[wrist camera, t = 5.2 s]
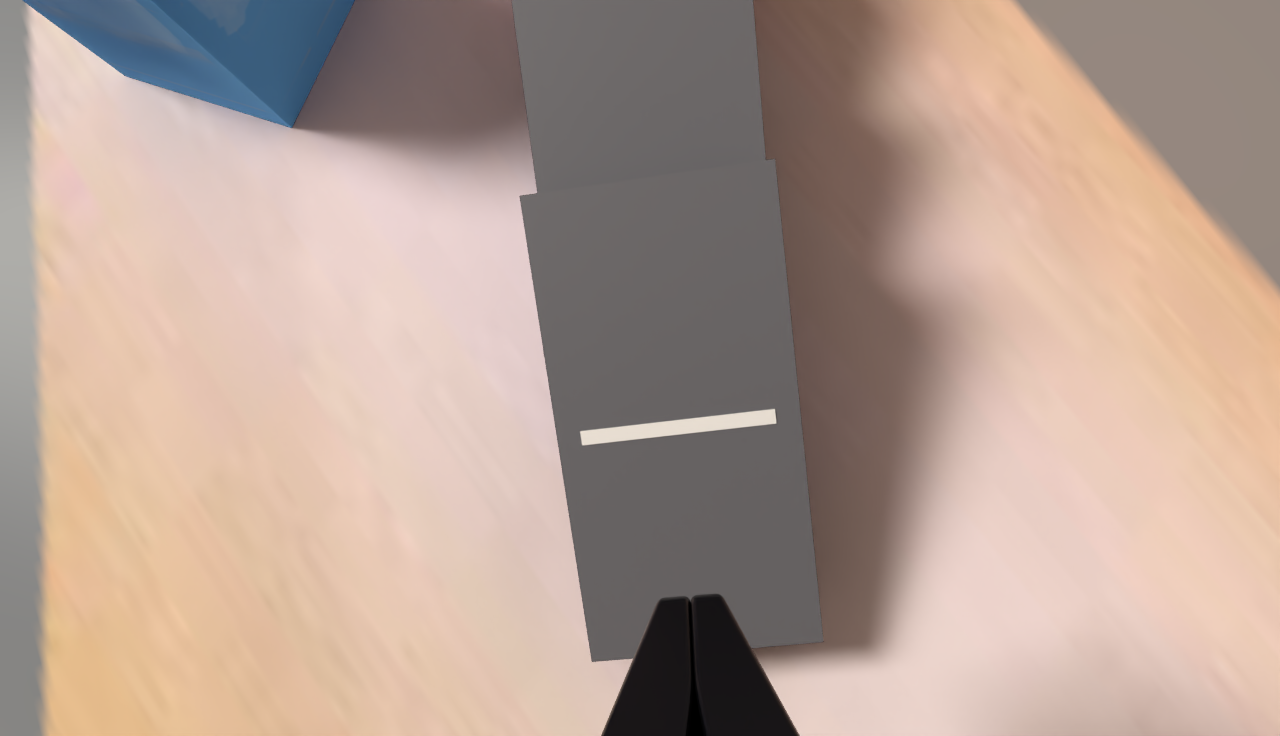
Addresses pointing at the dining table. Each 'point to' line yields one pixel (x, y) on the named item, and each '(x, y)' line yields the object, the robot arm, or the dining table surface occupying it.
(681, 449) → the domino
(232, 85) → the perfume bottle
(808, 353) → the dining table surface
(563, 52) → the domino
